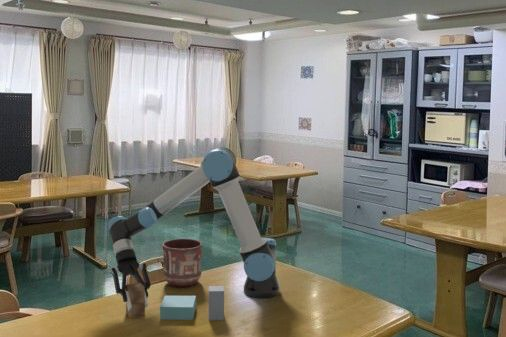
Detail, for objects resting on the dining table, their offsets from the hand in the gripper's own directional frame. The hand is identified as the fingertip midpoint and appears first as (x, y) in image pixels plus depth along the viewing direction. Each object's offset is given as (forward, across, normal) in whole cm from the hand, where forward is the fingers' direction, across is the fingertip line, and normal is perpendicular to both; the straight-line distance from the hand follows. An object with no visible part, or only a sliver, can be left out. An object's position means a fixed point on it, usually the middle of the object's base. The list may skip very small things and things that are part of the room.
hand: (138, 307), depth 196 cm
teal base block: (+5, -15, -1) cm, 15 cm away
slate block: (+12, -25, +6) cm, 29 cm away
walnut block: (0, 0, -5) cm, 5 cm away
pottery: (-17, -29, -23) cm, 41 cm away
